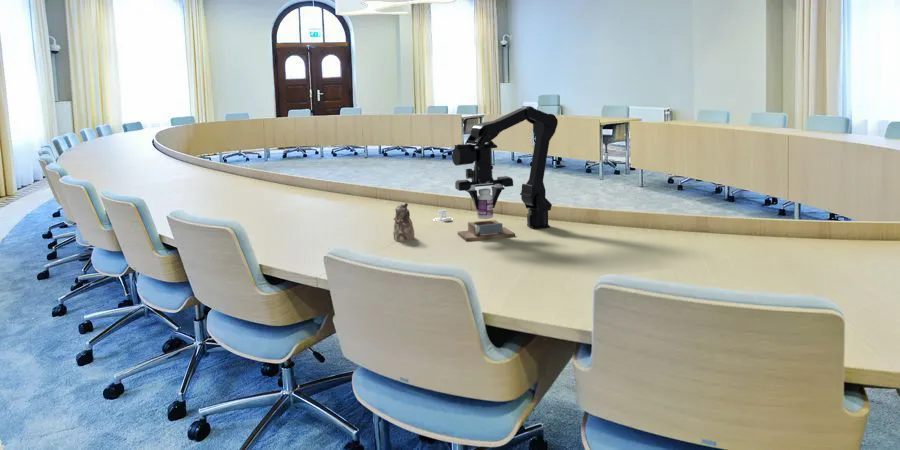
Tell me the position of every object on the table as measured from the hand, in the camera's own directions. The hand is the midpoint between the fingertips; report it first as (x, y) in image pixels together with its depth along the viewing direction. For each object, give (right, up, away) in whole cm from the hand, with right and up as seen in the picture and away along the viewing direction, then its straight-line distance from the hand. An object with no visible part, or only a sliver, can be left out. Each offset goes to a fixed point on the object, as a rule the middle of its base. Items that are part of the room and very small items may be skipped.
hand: (485, 208), depth 232 cm
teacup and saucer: (-16, -5, +28) cm, 33 cm away
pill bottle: (0, -3, +1) cm, 3 cm away
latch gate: (+1, -8, -3) cm, 9 cm away
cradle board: (0, -9, +2) cm, 9 cm away
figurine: (-27, -10, +1) cm, 29 cm away
